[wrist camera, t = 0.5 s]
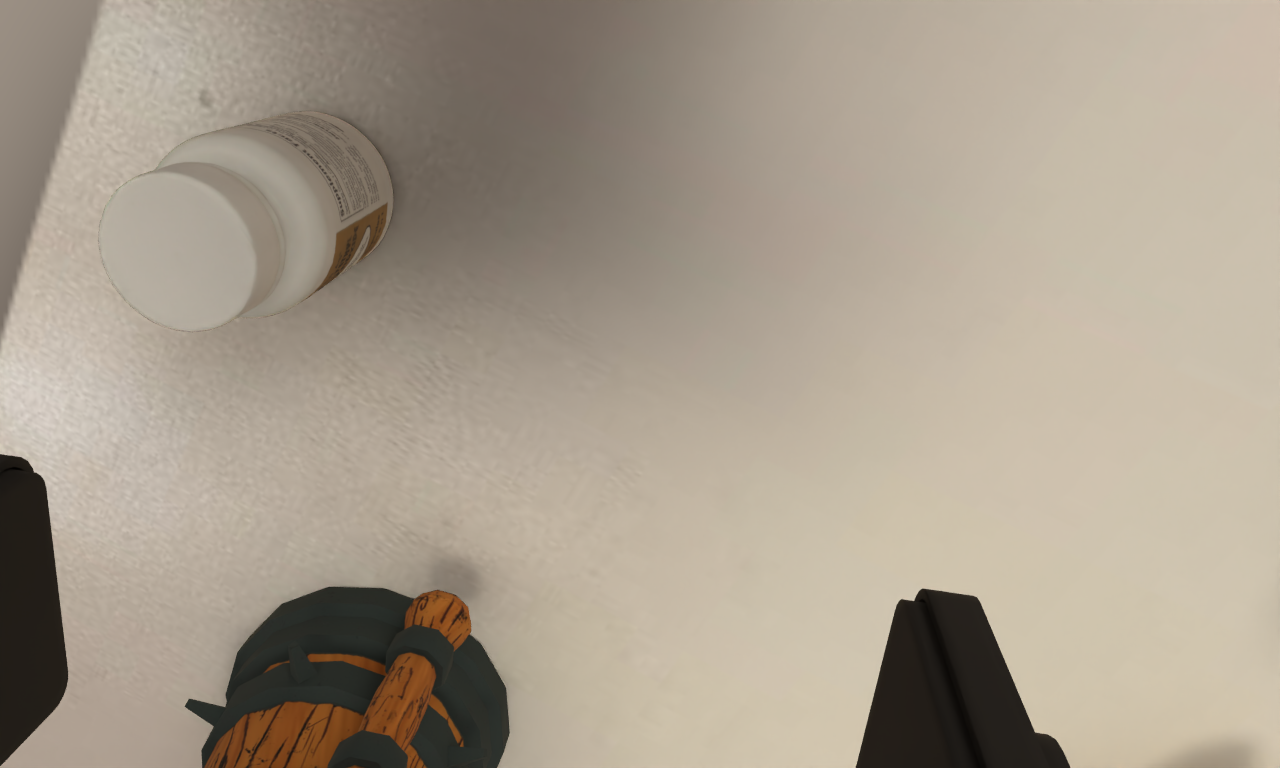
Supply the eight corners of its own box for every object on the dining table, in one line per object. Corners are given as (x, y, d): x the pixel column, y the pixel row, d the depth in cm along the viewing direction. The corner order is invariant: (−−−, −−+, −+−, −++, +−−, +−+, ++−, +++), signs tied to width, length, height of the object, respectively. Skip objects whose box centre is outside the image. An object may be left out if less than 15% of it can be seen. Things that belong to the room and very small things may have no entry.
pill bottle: (304, 293, 29) (162, 388, 22) (214, 158, 28) (31, 211, 20) (427, 222, 28) (321, 298, 20) (338, 79, 26) (192, 107, 19)
